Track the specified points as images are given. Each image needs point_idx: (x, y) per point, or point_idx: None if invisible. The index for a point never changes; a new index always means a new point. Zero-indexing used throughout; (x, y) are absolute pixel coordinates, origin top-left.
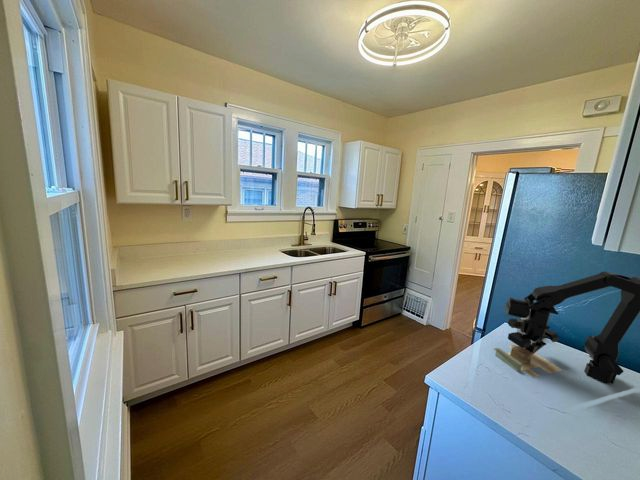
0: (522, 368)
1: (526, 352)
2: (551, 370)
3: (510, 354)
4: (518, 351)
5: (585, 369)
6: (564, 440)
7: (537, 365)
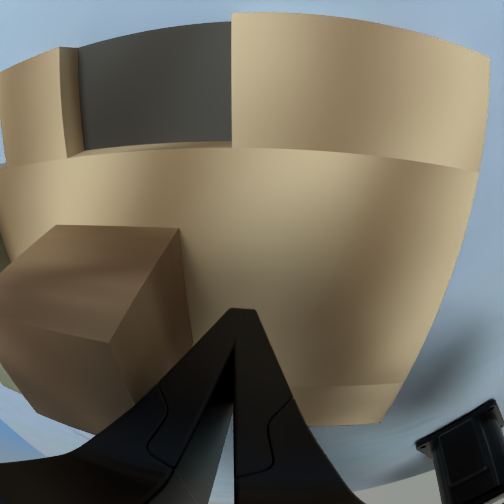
0: None
1: (85, 422)
2: None
3: (34, 243)
4: (8, 373)
5: (470, 440)
6: (56, 449)
7: None
